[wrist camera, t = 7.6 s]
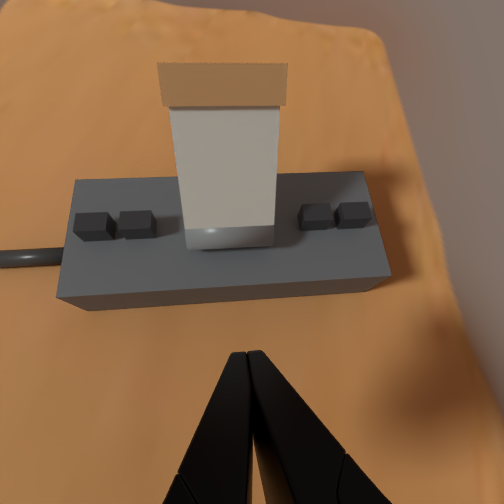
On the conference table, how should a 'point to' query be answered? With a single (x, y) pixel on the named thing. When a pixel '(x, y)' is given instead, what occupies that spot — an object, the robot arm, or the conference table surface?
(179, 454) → the conference table surface
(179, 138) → the lever
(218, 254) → the breaker box
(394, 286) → the conference table surface
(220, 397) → the robot arm
